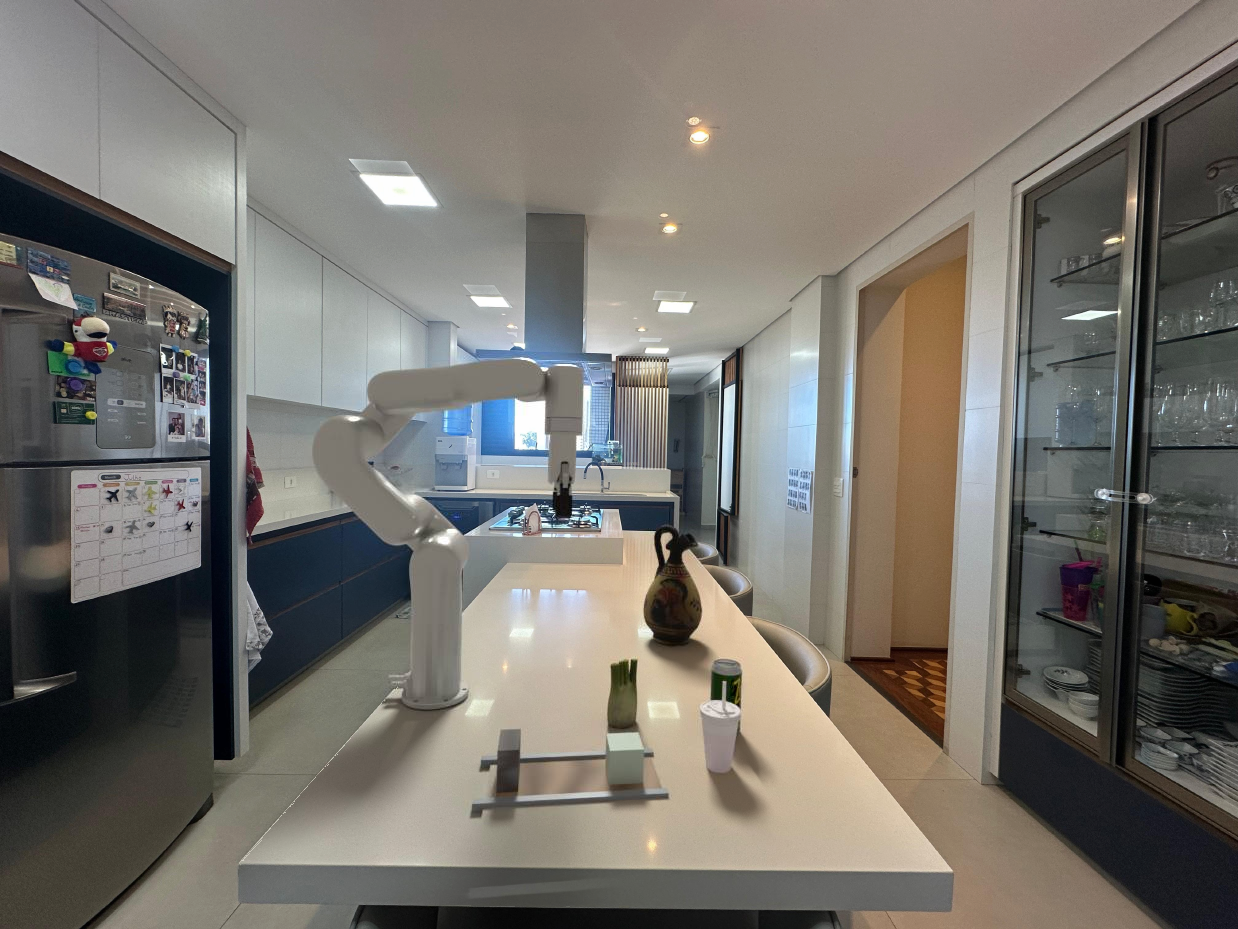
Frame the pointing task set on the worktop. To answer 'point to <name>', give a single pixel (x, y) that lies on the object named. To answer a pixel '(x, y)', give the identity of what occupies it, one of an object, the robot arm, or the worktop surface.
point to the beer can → (727, 682)
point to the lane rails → (568, 797)
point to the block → (624, 758)
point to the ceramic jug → (672, 592)
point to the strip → (555, 773)
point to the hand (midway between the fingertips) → (561, 513)
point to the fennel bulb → (623, 694)
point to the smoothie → (719, 732)
